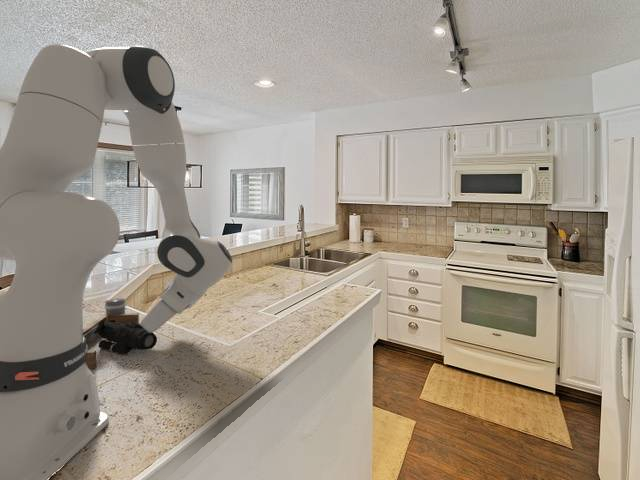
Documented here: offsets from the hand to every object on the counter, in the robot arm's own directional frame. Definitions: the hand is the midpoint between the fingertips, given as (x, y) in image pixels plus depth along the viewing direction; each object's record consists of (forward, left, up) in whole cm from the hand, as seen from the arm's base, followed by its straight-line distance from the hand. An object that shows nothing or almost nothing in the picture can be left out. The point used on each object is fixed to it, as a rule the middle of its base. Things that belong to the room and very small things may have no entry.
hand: (144, 328), depth 87 cm
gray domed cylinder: (+17, +14, -4) cm, 22 cm away
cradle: (0, +11, -4) cm, 11 cm away
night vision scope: (-3, +3, -5) cm, 6 cm away
